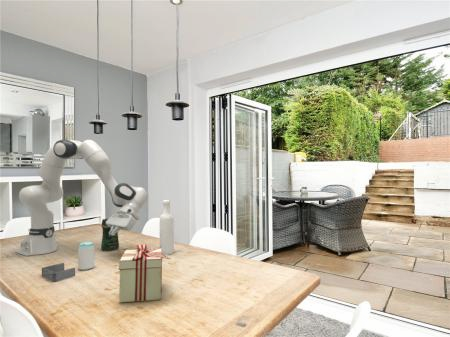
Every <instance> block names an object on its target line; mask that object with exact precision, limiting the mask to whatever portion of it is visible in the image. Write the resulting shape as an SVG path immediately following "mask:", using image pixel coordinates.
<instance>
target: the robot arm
mask: <svg viewBox="0 0 450 337" xmlns="http://www.w3.org/2000/svg"><path fill="white" fill-rule="evenodd" d="M67 160H84V161H85V162H86V164H87V165H88V166H89V167H90V168H91V169H90V170H92V171H93V172H94V173H95V174H96V176H97V177H98V178H99V180H101V182H102V183H103V185H104V187H105V188H106V189H107V191H108V193H109V194H110V196H111V200H112V203H113V205H114V206H115V207H117V208H120V209H119V210H118V211H117V212H115V213H113V214H111V216H110V217H108V218H107V219H108V220H107V221H106V225H108V226H109V227H111V230H110V232H109V234H110V235H115V233H117V232H118V233H119V232H120V231H121V230H122V231H123V230H124V231H128V232H129V231H131V230H132V229H133V228H134V226H135V225H136V224H137V222H138V221H139V220H140V219H141V217H140V215H139V214H138V213H139V211H140V210H141V209H142V208H143V207H144V205H145V204H146V202H147V201H148V199H149V194H148V192H147V190H146V189H145V188H144V187H142V186H134V185H130V184H128V183H125V182H121V183H118V182H117V181H116V179H115V178H114V177H113V174H112V169H111V168H112V167H111V161H110V158H109V156H108V155H107V154H106V152H105V151H104V149H103V148H102V147H101V146H100V145H99V144H98V143H97V142H96V141H94V139H93V140H92V139H85V140H83V141H82V140H78V139H77V140H76V139H60V140H57V141H56V142H55V143H54V144H53V145H52V146H50V147H49V148H48V150H47V152H46V153H45V155H44V157H43V160H42V162H41V165H40V167H39V171H38V175H39V177H40V178H41V179H42V182H41V184H36V185H29V186H26V187H22V188H21V189H20V190H19V192H18V193H19V194H18V199H19V201H20V202H21V204H23V205H24V206H25V207H26V208H27V209H28V212H29V216H30V228H29V229H28V230H27V231H28V232H29V233H28V235H27V236H26V237H24V238H23V239H22V240H21V242H20V248H19V249H15V253H17V254H20V255H22V256H25V257H28V256H36V255H45V254H50V253H53V252H56V251H57V250H58V249H59V246H58V245H57V238H56V234H55V226H54V213H53V211H52V210H50V209H49V208H48V205H47V204H49V203H54V202H57V201H59V200H61V199H62V198H63V196H64V189H63V187H62V186H61V183H60V182H61V176H62V174H63V171H64V168H65V166H66V163H67Z"/></svg>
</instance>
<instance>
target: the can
mask: <svg viewBox="0 0 450 337" xmlns="http://www.w3.org/2000/svg"><path fill="white" fill-rule="evenodd" d="M95 249H96V248H95V244H94V242H93V241H85V242H81V243H79V246H78V249H77V250H78V252H77V255H78V256H77V258H78V259H77V261H78V262H77V263H78V264H77V265H78V266H77V267H78V269H79V270H80V271H87V270H91V269H93V268H94V267H95V265H96V263H95V252H96V251H95Z"/></svg>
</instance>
